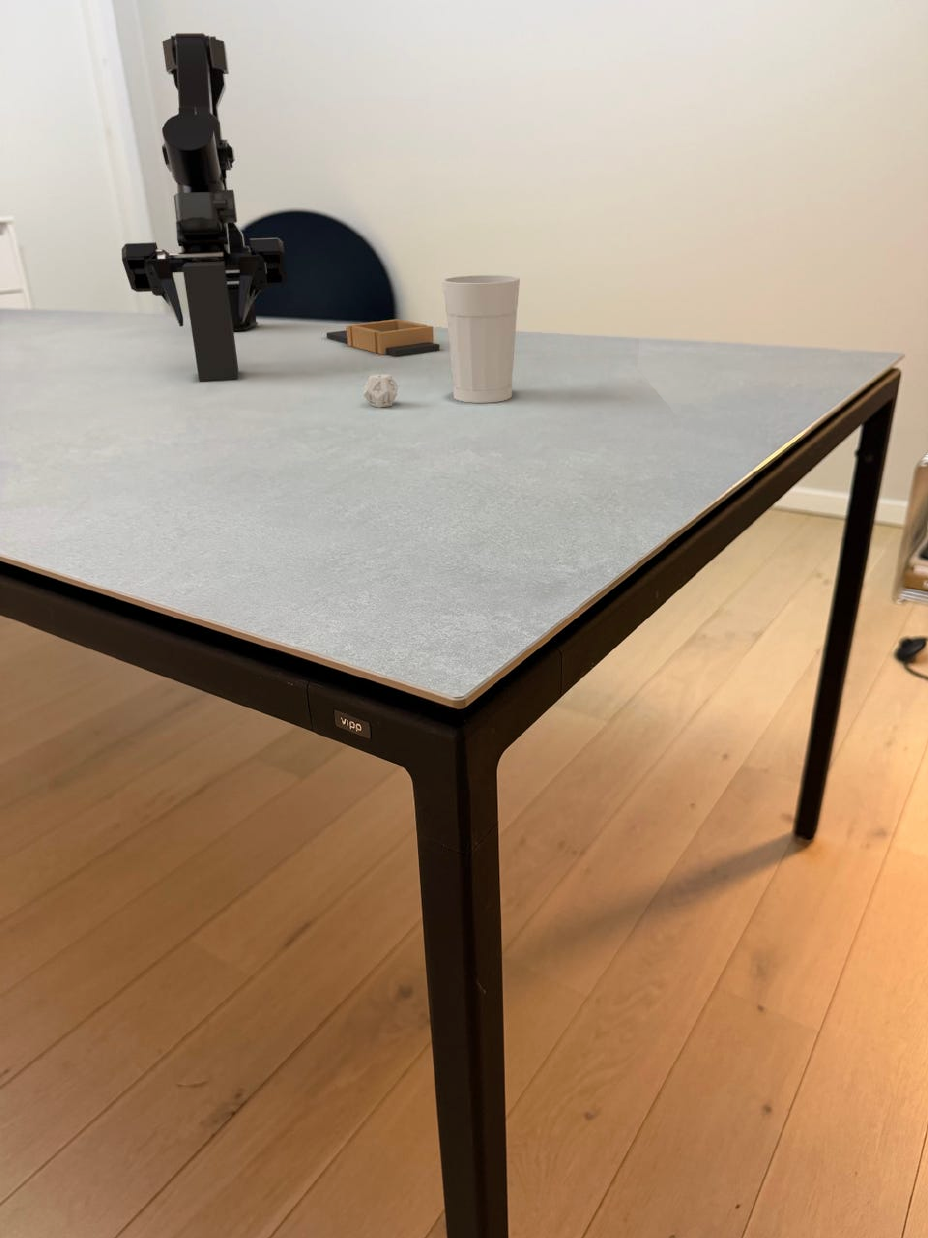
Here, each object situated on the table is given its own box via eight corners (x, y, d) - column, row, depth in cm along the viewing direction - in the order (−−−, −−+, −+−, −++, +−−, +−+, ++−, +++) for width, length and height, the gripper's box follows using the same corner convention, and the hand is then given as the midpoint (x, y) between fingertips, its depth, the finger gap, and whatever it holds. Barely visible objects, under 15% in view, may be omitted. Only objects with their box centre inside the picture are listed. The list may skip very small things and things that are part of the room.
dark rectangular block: (201, 374, 114) (185, 262, 109) (238, 372, 115) (224, 261, 109) (199, 381, 110) (182, 266, 105) (237, 379, 111) (222, 264, 105)
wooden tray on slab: (322, 338, 137) (320, 319, 135) (371, 332, 141) (370, 313, 140) (390, 357, 122) (389, 335, 121) (444, 349, 126) (443, 328, 125)
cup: (446, 388, 103) (443, 275, 98) (517, 387, 103) (518, 273, 98) (445, 405, 96) (441, 284, 91) (521, 403, 96) (521, 282, 91)
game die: (401, 401, 98) (400, 372, 97) (394, 409, 95) (392, 380, 94) (369, 400, 99) (367, 372, 98) (361, 408, 96) (359, 379, 94)
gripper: (108, 166, 104) (112, 279, 99) (274, 162, 107) (286, 272, 102) (130, 237, 115) (134, 342, 110) (281, 232, 118) (292, 334, 113)
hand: (211, 322), depth 108 cm, fingers open, 7 cm apart
